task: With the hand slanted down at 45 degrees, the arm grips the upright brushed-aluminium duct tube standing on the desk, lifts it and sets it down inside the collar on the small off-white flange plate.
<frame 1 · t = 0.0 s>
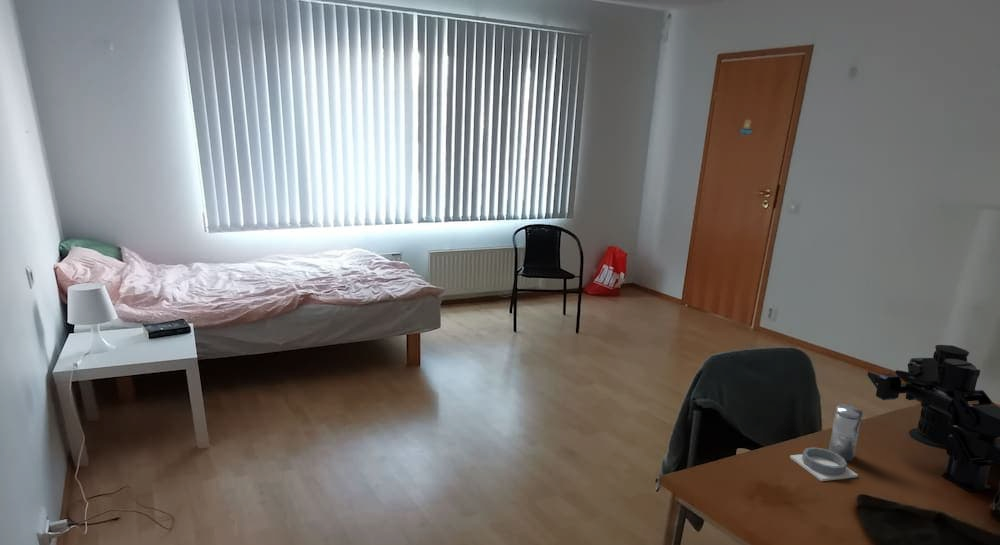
hand: (882, 372, 148), 17 cm above the table, tool horizontal, fingers open, 9 cm apart
flange collar: (822, 467, 131), on the table
handle grip: (931, 439, 147), on the table
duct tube: (840, 455, 137), on the table
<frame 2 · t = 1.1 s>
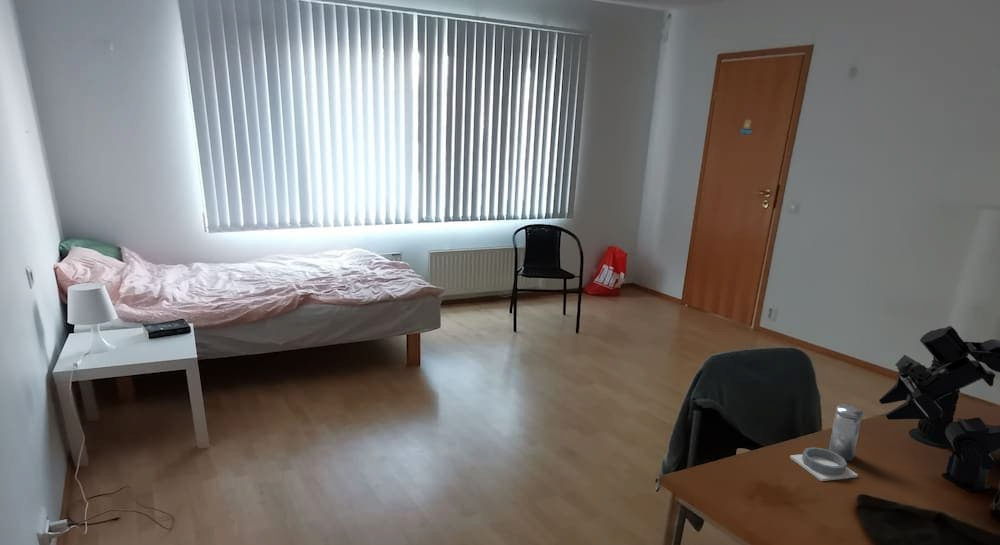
hand: (883, 409, 132), 14 cm above the table, tool tilted 45°, fingers open, 9 cm apart
nothing on the table moved.
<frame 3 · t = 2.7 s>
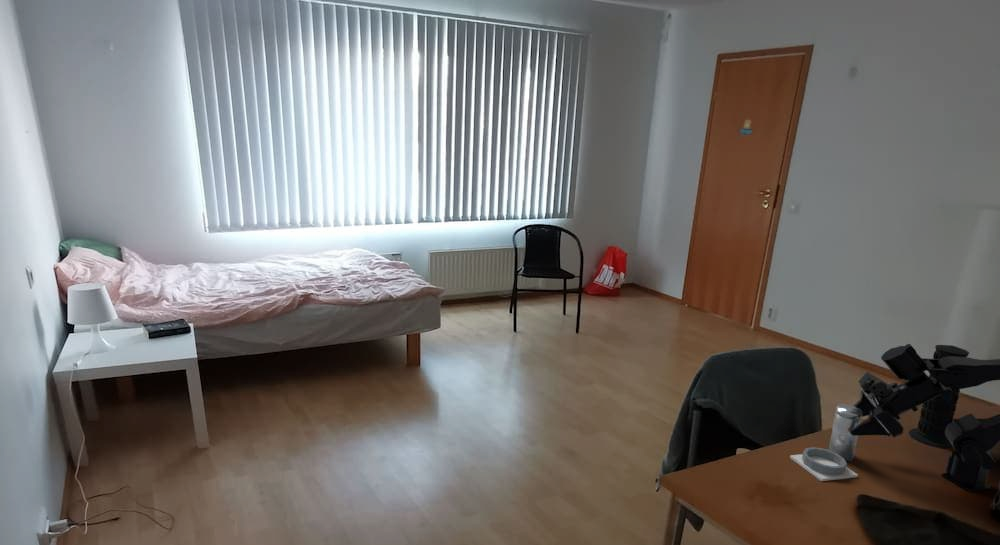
hand: (848, 425, 135), 8 cm above the table, tool tilted 45°, fingers open, 9 cm apart
nothing on the table moved.
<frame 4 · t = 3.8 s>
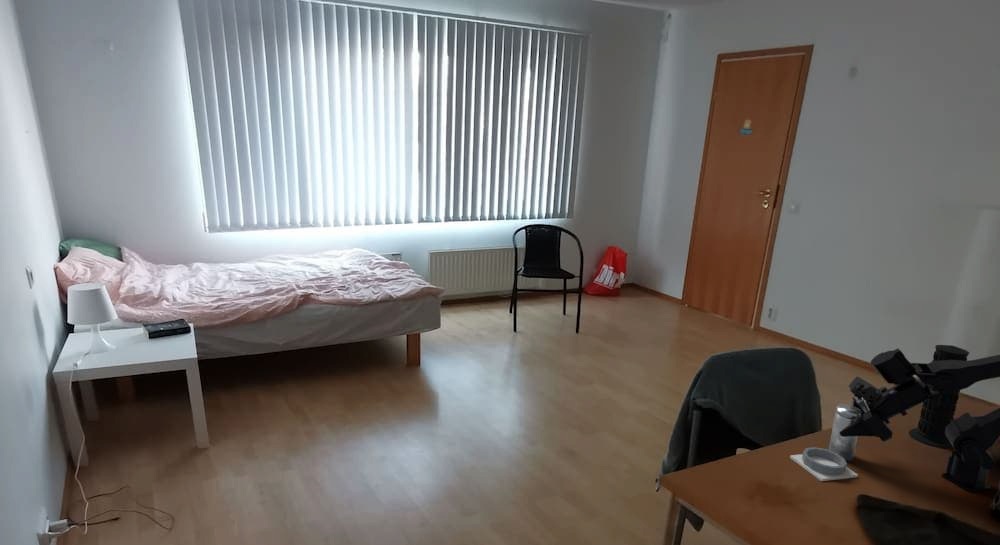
hand: (838, 429, 136), 7 cm above the table, tool tilted 45°, fingers closed on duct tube, 5 cm apart
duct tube: (840, 454, 137), on the table, touching gripper
everything else where it was.
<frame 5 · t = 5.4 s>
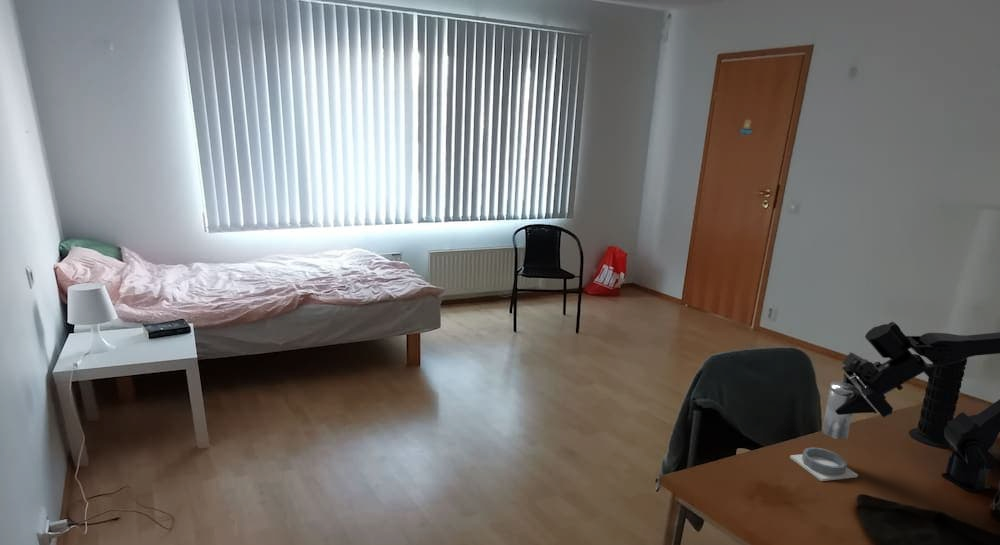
hand: (833, 407, 132), 14 cm above the table, tool tilted 45°, fingers closed on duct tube, 5 cm apart
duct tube: (834, 433, 133), point 7 cm above the table, touching gripper
everything else where it was.
when the fingers open (8 cm above the table, at t = 7.3 s): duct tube drops 1 cm, resting on flange collar.
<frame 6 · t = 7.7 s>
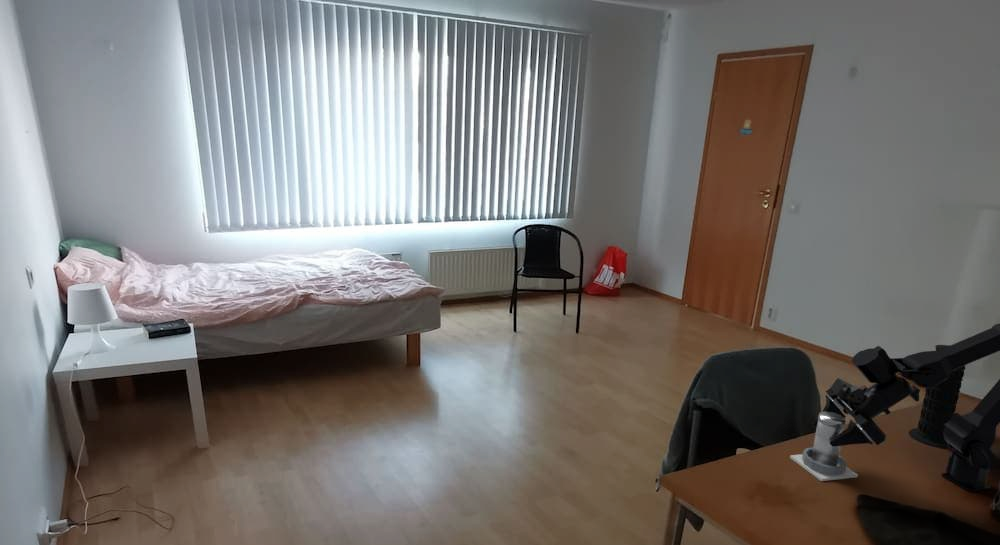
hand: (822, 434, 130), 8 cm above the table, tool tilted 45°, fingers open, 9 cm apart
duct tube: (823, 464, 131), point 1 cm above the table, touching flange collar
everything else where it was.
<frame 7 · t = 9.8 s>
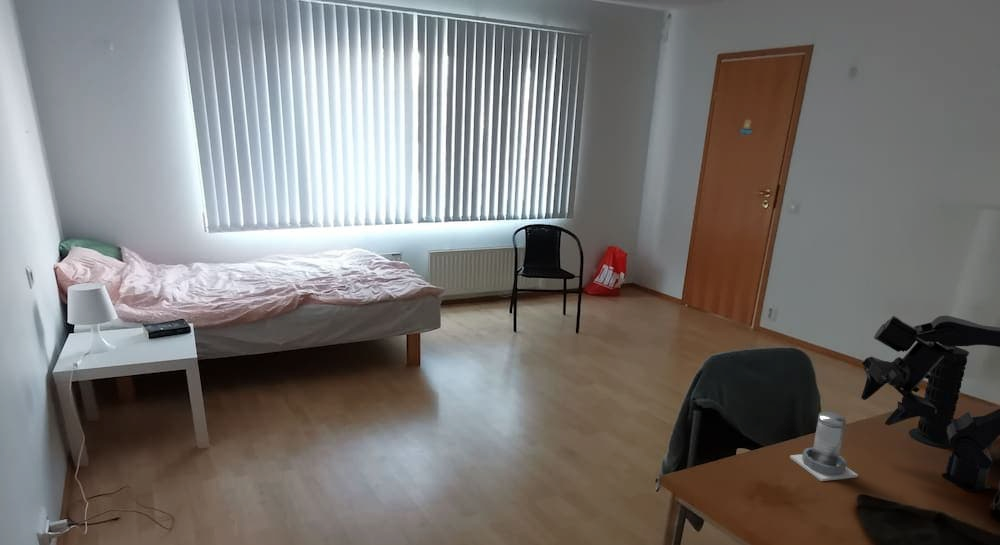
hand: (874, 411, 135), 12 cm above the table, tool tilted 25°, fingers open, 9 cm apart
nothing on the table moved.
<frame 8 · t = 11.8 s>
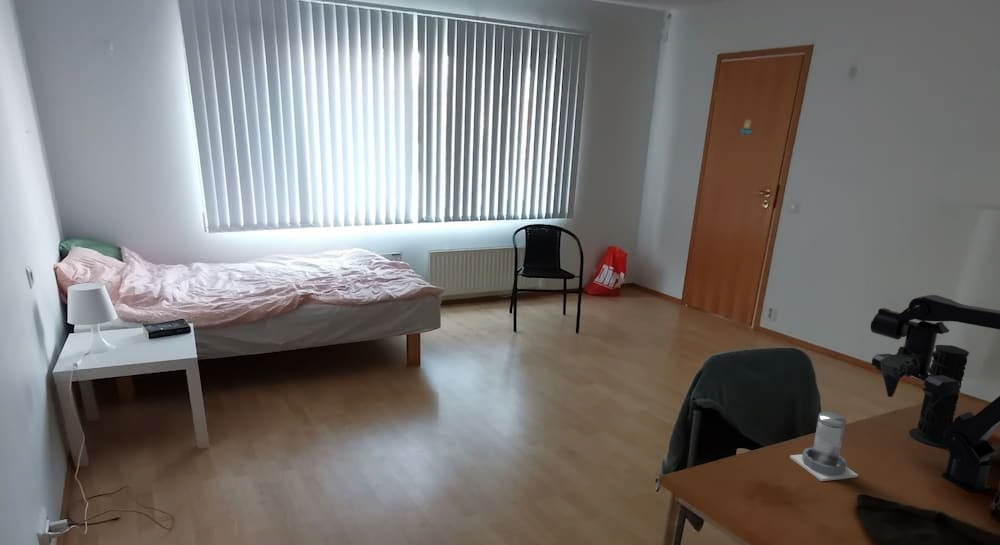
hand: (906, 404, 137), 13 cm above the table, tool pointing down, fingers open, 9 cm apart
nothing on the table moved.
at the end: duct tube 0.1 cm off-centre on the flange collar, point 0.6 cm above the flange collar's base; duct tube tilted 0°; the gripper is holding nothing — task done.
